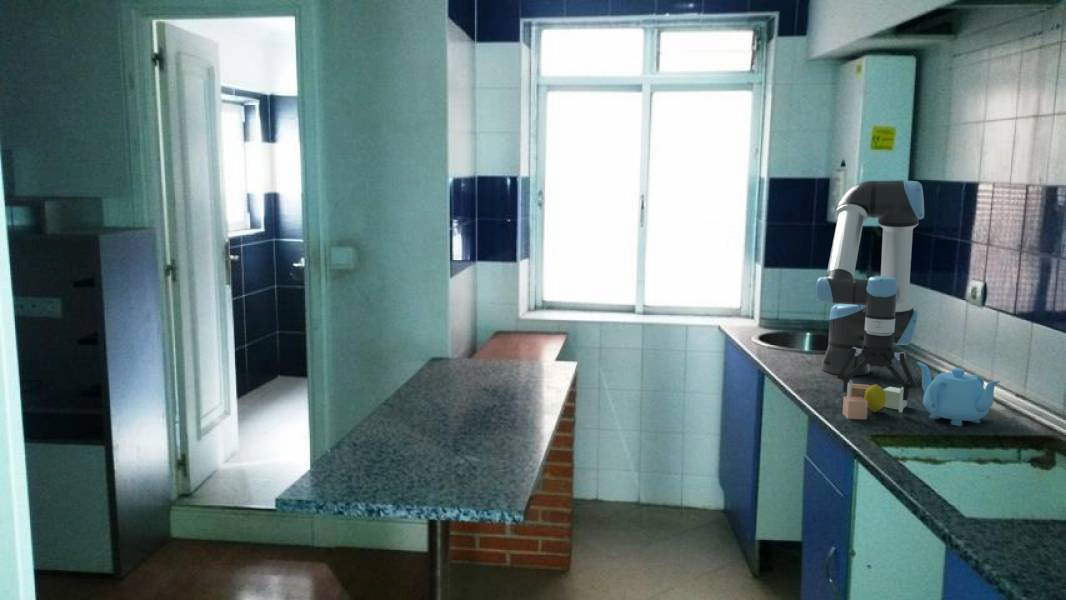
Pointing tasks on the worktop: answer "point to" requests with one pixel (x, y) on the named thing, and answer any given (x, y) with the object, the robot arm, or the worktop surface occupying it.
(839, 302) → the robot arm
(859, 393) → the walnut cube
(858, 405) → the terracotta cube
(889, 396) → the sage cube
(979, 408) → the teapot
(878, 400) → the lemon
